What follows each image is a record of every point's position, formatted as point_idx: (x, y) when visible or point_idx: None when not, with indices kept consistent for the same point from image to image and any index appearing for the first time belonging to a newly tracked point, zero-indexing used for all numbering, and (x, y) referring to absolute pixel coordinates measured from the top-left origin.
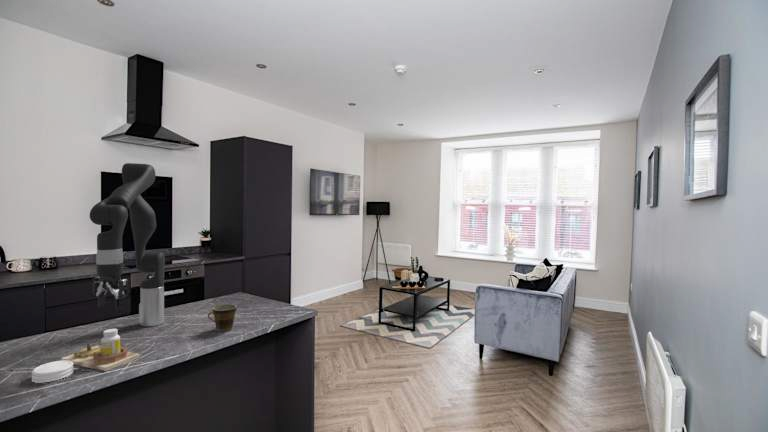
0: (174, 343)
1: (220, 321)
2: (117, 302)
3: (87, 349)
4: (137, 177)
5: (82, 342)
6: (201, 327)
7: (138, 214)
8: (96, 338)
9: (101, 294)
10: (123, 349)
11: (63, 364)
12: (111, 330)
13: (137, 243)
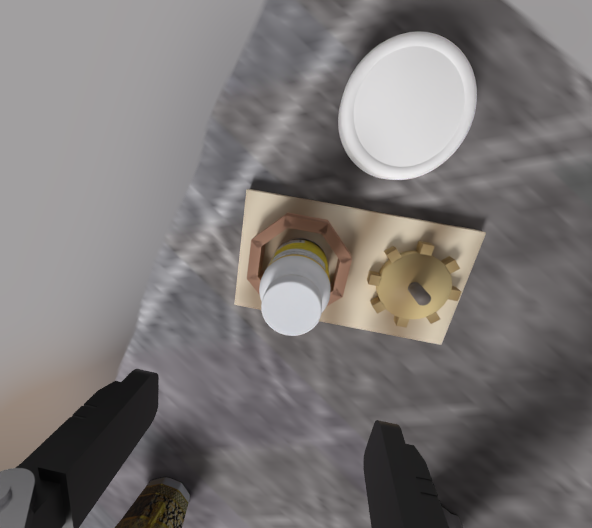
0: (222, 397)
1: (141, 511)
2: (82, 428)
3: (417, 283)
4: None
5: (538, 378)
6: (243, 500)
7: None
8: (513, 411)
9: None
10: None
11: (384, 139)
12: (287, 310)
13: None
